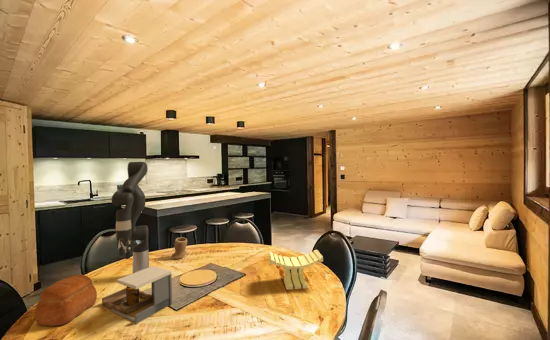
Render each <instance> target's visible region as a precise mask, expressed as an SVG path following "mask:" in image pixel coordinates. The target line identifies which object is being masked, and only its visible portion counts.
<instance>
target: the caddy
mask: <svg viewBox="0 0 550 340" xmlns="http://www.w3.org/2000/svg"><path fill="white" fill-rule="evenodd" d="M139 297H142V298H145V299H144V300H142V301H141V300H140V302H139V303H137V304H135V305H133V306H131V307H128V308H125V309H124V308H122V306H119V305H121V303H122V302H126V287H125V288H122V289H121V290H118V291H115V292H113V293H111V294H109V295H106V296H104V297H101V305H102V306H104V307H106V308H109V309H110V310H111V309H114V310H117V311H119V312H121V313H123V314H126V315H128V314H129V313H131V312H133V311H136V310H138V309H139V308H141V307H143V306H145V305H147V304H149V303H151V302H154V297H153V295H152V294H150V293H147V292H145V291H141V290H139Z"/></svg>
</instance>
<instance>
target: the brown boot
mask: <svg viewBox="0 0 550 340" xmlns="http://www.w3.org/2000/svg"><path fill="white" fill-rule="evenodd" d="M187 245H188V239H187V238H186V237H183V236H181V237H177V238H175V240H174V246H173V247H174V253H173V254H172V255H171V257H170V258H171V259H174V260H177V259H178V260H179V259H183V258H184V257H186V255H187V252H188V251H187V250H186V248H187Z"/></svg>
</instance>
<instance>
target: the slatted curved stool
mask: <svg viewBox="0 0 550 340" xmlns="http://www.w3.org/2000/svg"><path fill="white" fill-rule="evenodd" d="M268 255H269V261H268V262H269V265H275V266H276V267H279V266H280V267H281V268H283V269H284V277H283V282H284V285H285V288H286V290H300V289H302V290H303V289H310V287H309V285H308V283H307V281H306V278H305V276H304V269H305V268H310V266H314V264H319V262H320V263H322V262H324V256H323V254H321V253H320V251H319V250H318V249H315V250H313V251H310V252H308V253H306V254H304V255H299V256H290V257H289V256H282V255H278V254H277V253H273V252H271V251H269V253H268Z"/></svg>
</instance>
